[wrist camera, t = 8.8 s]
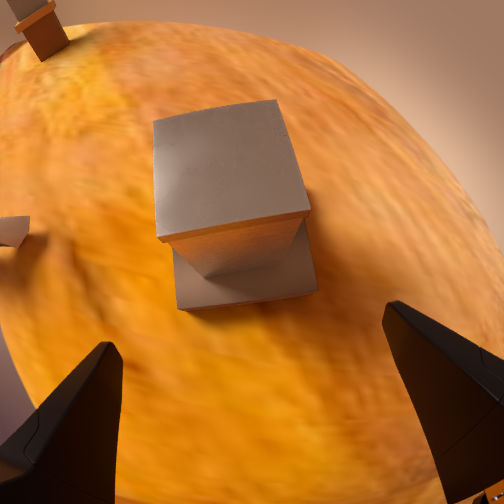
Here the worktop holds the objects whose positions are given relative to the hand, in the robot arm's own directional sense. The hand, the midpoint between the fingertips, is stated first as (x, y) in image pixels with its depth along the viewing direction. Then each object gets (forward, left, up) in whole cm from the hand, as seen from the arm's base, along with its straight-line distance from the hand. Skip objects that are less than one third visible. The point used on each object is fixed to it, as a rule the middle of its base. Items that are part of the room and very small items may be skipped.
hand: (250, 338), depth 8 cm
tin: (+7, -2, -11) cm, 13 cm away
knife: (+63, +13, -13) cm, 65 cm away
